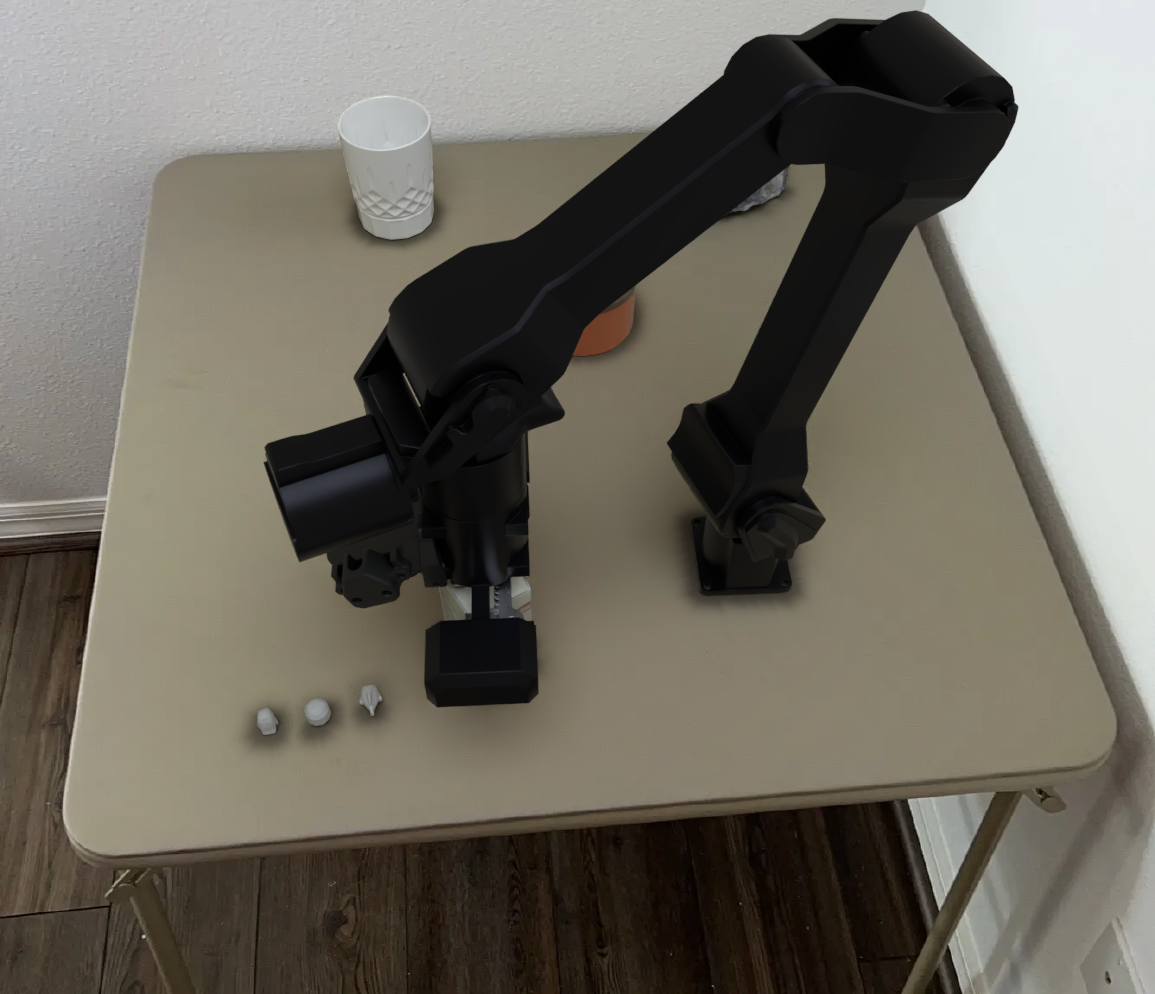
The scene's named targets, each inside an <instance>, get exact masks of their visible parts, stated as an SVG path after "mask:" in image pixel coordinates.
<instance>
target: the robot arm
mask: <svg viewBox="0 0 1155 994" xmlns="http://www.w3.org/2000/svg"><path fill="white" fill-rule="evenodd" d="M1019 108H1020V107H1019V105H1018V104H1017V103H1016V99H1015V93H1014V87H1013V86H1012V85H1011V83H1010V82H1009V81H1008V80H1007V79H1006V78H1005V77H1004V76H1003V75H1002V74H1000V72H998V71H997V70H996V69H995V68H994V67H992V66H991V65H990V64H988V63H987V62H986V61H985V60H984V59H983V58H982V57H980V56H979V55H978V54H977V53H976V52H974V51H973V50H972V49H971V48H970V47H968V46H967V45H966V44H965V43H964V42H963V41H961V40H960V39H959V38H958V37H957V36H955V35H954V34H953V33H952V32H951V31H949V30H948V29H947V27H945V26H944V25H942V23H940V22H939V21H938V20H937V19H935V18H934V17H933V16H932V15H931V14H929V13H927V12H923V11H920V10H917V9H915V10H907V11H901V12H898V13H897V14H894V15H892V16H890V17H888V18H886V19H876V18H875V19H872V18H871V19H870V18H847V17H846V18H845V17H844V18H843V17H832V18H828V19H826V20H824V21H822V22H821V23H819V24H817V25H815V26H814V27H812V28H810V29H808V30H806V31H804V32H802V33H801V34H778V33H777V34H776V33H775V34H774V33H769V34H764V35H757V36H755V37H754V38H751V39H750V40H748V41H746V42H744V43H743V44H741V46H740V47H739V48H738V49H737V50H736V51H735V52H734V53H733V54H732V55H731V57H730V59H729V60H728V63H727V65H726V66H725V68H724V70H723V75H721V76H720V77H719V78H717V80H715V81H714V82H712V84H710V85H709V86H707V87H706V88H705V89H704V90H703V91H702V92H699V94H698V95H696V96H695V97H694V98H693V99H692V100H690V101H689V102H688V103H686V104H685V105H684V106H683V107H682V108H680V109H679V110H678V111H677V112H675V113H674V114H673V115H671V116H670V117H669V118H668V119H667V120H665V121H664V122H663V123H662V124H660V125H659V126H658V127H657V128H655V129H654V130H653V131H652V132H650V133H649V134H648V135H646V137H644V138H643V139H642V140H641V141H639V142H638V143H637V144H636V145H634V146H633V147H632V148H631V149H629V150H628V151H627V152H625V154H623V155H622V156H621V157H620V158H617V160H616V161H615V162H613V163H612V164H611V165H610V166H608V167H607V168H606V169H605V170H603V171H601V173H600V174H598V175H597V176H596V177H594V178H593V179H592V180H591V181H590V182H588V183H587V184H586V185H585V186H584V187H583V188H581V189H580V190H578V191H577V192H576V193H575V194H574V195H572V196H571V197H570V198H568V200H566V201H565V202H563V204H561V205H560V206H559V207H558V208H556V209H555V210H554V211H553V212H551V213H550V214H549V215H547V216H546V218H544V219H543V220H541V221H540V222H539V223H537V224H536V225H534V226H533V227H531V228H530V229H528V230H527V231H525V232H524V233H522V234H520V235H519V236H516V237H515V238H511V239H510V238H509V239H504V240H499V241H494V242H487V243H482V244H481V243H480V244H476V245H471V246H468V247H466V248H464V249H462V250H461V251H459V252H458V253H456V254H454V255H453V256H451V257H449V258H448V259H446V260H445V261H442V263H440V264H438V265H436V266H435V267H433V268H432V269H430V270H428V271H427V272H425V273H424V274H422V275H420V276H418V277H417V278H415V279H413V281H411V282H410V283H409V284H407V285H405V287H404V288H403V289H402V290H401V291H400V292H399V293H398V294H397V295H396V297H394V299H393V300H392V302H391V304H390V306H389V307H388V311H387V312H388V313H389V315H388V320H387V321H388V322H387V323H386V324H385V326H384V328H383V329H382V331H381V332H380V334H379V335H378V336H377V339H376V340H375V342H374V343H373V345H372V346H371V348H370V349H369V351H368V353H367V354H366V356H365V357H364V359H363V360H362V361H361V364H360V366H359V367H358V369H356V371H355V373H354V375H353V381H354V383H355V386H356V388H357V390H358V392H359V394H360V396H361V399H362V402H363V407H364V411H365V415H362V416H361V415H360V416H358V417H355V418H352V419H349V420H346V421H343V422H340V423H336V424H333V425H330V426H327V427H323V428H321V429H317V430H315V431H311V432H308V433H302V434H295V435H290V436H286V437H283V438H280V439H276V440H274V441H270V442H268V443H266V444H265V445H264V448H263V449H264V451H265V453H264V456H265V459H266V461H265V460H264V461H263V466H264V468H265V472H266V475H267V478H268V481H269V484H270V487H271V490H272V493H273V495H274V499H275V501H276V505H277V507H278V510H279V512H280V516H281V518H282V522H283V524H284V527H285V530H286V532H287V535H288V537H289V540H290V543H291V546H292V548H293V551H294V554H295V556H296V558H297V561H298V563H302V562H304V561H308V560H311V559H314V558H317V557H320V556H322V555H325V554H326V559H327V562H329V564H331V568H330V569H331V571H330V577H331V578H332V579H333V580H334V583H335V586H334V591H335V594H337V595H339V596H343V597H344V598H345V600H347V601H348V603H350V604H351V606H352V607H354V608H357V609H368V608H369V609H370V608H373V607H378V606H382V605H385V604H390V603H393V602H396V601H397V600H398V599H400V597H401V587H402V585H403V583H404V582H405V581H409V580H410V579H411V578H414V577H416V576H417V575H419V574H421V575H422V580H423V586H424V588H425V589H427V588H439V587H446V586H447V580H450V583H451V587H452V588H455V589H460V588H466V587H471V610H472V613H465V620H446V621H445V620H439V621H437V622H436V623H434V624H431V625H430V626H429V627H428V628H426V629H425V630H424V631H425V632H424V633H425V634H424V671H423V685H424V690H425V695H426V699H427V700H428V701H429V702H430V703H431V704H432V705H434V706H435V707H436V708H437V709H438V708H456V707H459V708H460V707H480V706H499V705H523V704H530V703H531V702H532V701H533V700H534V699H535V698H536V697H537V696H538V695H539V694H540V693H539V692H540V691H539V687H540V686H539V663H538V662H539V661H538V659H539V658H538V640H537V638H538V637H537V624H535V621H534V620H532V621H526V620H524V616H523V614H522V612H520V611H519V610H517V609H514V608H513V607H512V593H511V577H525V578H526V577H531V566H530V541H529V540H530V539H529V533H530V532H529V520H530V517H531V512H530V488H529V484H530V483H531V477H530V476H531V475H530V471H531V470H530V452H529V451H530V449H529V431H532V430H535V429H538V428H541V427H544V426H547V425H550V424H553V423H556V422H559V421H561V420H563V419H564V418H565V416H566V411H565V409H564V407H563V405H562V404H561V402H560V401H559V398H558V397H557V396H556V394H555V392H554V390H553V389H552V387H553V386H554V385H555V384H556V383H557V382H558V381H559V380H560V379H561V378H562V377H563V376H564V375H565V373H566V371H567V369H568V367H569V365H570V363H571V360H572V358H573V354H574V351H575V349H576V347H577V344H578V342H579V340H580V338H581V335H582V333H583V331H584V329H585V328H586V327H587V326H588V325H589V324H590V323H591V322H592V321H593V320H594V319H595V318H596V317H597V316H598V315H599V314H600V313H601V312H602V311H603V310H605V309H606V308H607V307H609V306H610V305H611V304H612V303H614V302H615V301H616V300H618V299H619V298H620V297H621V296H623V295H624V294H625V293H627V292H628V291H629V290H630V289H632V288H633V287H634V286H636V285H637V286H638V284H639V283H641V282H642V281H643V280H645V279H646V278H647V277H649V275H651V274H652V273H653V272H655V271H656V270H658V269H659V268H660V267H661V266H663V265H664V264H665V263H667V262H668V261H669V260H670V259H672V258H673V257H674V256H676V255H677V254H678V253H679V252H681V251H682V250H683V249H685V248H686V247H687V246H688V245H690V244H691V243H693V242H694V241H695V240H696V239H697V238H699V237H700V236H701V235H703V234H704V233H706V231H708V230H709V229H710V228H711V227H713V226H714V225H715V224H716V223H717V222H719V221H720V220H722V219H723V218H724V217H726V216H727V215H728V214H730V213H729V212H731V211H732V210H733V209H734V208H736V207H737V206H738V205H740V204H741V203H742V202H743V201H745V200H746V199H747V198H749V197H750V196H751V195H752V194H754V193H755V192H756V191H758V190H759V189H760V188H761V187H763V186H764V185H765V184H767V183H768V182H769V181H770V180H772V179H773V178H774V177H776V176H777V175H778V174H779V173H781V172H782V171H783V170H785V169H786V168H787V167H788V166H789V167H790V166H792V165H795V166H807V165H808V166H809V165H824V181H825V182H824V187H823V188H824V189H823V191H822V194H821V196H820V198H819V201H818V202H817V205H816V207H815V209H814V211H813V213H812V215H811V218H810V219H809V222H808V224H807V226H806V228H805V231H804V233H803V235H802V237H801V239H800V241H799V243H798V245H797V246H796V247H797V248H796V250H795V252H794V253H793V255H792V258H791V261H790V262H789V265H788V266H787V269H786V271H785V274H784V275H783V278H782V280H781V282H780V284H779V286H778V288H777V290H776V291H775V292H776V293H775V295H774V296H773V299H772V301H771V303H770V305H769V308H768V310H767V311H766V314H765V316H764V318H763V320H762V322H761V325H760V327H759V329H758V331H757V333H756V335H755V337H754V339H753V341H752V344H751V346H750V348H749V350H748V352H747V354H746V357H745V359H744V361H743V363H742V365H741V367H740V369H739V371H738V373H737V375H736V378H735V380H734V382H733V384H732V385H731V387H730V388H729V389H728V390H726V391H724V392H722V393H720V394H718V395H715V396H713V397H711V398H709V399H707V400H705V401H703V402H698V403H697V402H691V403H689V404H687V405H686V406H684V407H683V410H682V413H681V418H680V421H679V424H678V426H677V428H676V430H674V431H675V432H674V433H673V434H672V435H671V436H670V438H669V439H668V440H667V442H666V445H667V447H668V448H669V450H670V452H671V453H670V459H671V461H672V463H673V465H674V467H675V469H676V470H677V472H678V473H679V475H680V476H681V478H682V479H683V481H684V482H685V484H686V485H687V487H688V488H689V490H690V491H691V493H692V495H693V496H694V498H695V499H696V501H697V502H698V504H699V505H700V507H701V508H702V510H703V511H704V513H705V515H706V516H695V517H693V518H692V519H691V520H690V532H691V539H692V546H693V552H694V560H695V566H696V573H697V579H698V581H697V582H698V587H699V591H700V593H701V594H702V595H705V596H718V595H721V596H723V595H724V596H725V595H740V594H741V595H744V594H745V595H746V594H747V595H748V594H765V593H766V594H769V593H772V594H773V593H787V592H789V591H791V589H792V588H793V587H792V586H793V581H792V580H793V579H792V575H791V571H790V565H789V560H791V559H793V557H794V554H795V550H797V549H798V548H799V546H800V545H803V544H805V543H807V542H810V541H812V540H814V538H815V537H816V535H817V534H818V533H819V531H820V530H821V528H822V527H823V525H824V524H825V523H826V520H827V519H826V517H825V516H824V514H823V512H822V511H821V510H820V509H819V508H818V506H817V505H816V504H815V502H814V501H813V499H812V498H811V496H810V495H809V494H808V492H807V491H806V490H805V488H804V484H805V482H806V479H807V476H808V474H809V451H808V432H807V430H808V429H807V425H808V422H809V420H810V418H811V415H812V414H813V412H814V410H815V409H816V406H817V405H818V403H819V402H820V399H821V398H822V396H823V394H824V393H825V390H826V389H827V387H828V385H829V383H830V381H831V380H832V377H833V375H834V374H835V372H836V370H837V368H838V366H839V365H840V363H841V361H842V359H843V357H844V356H845V354H846V352H847V350H848V349H849V346H850V344H851V343H852V341H853V339H854V337H855V336H856V334H857V332H858V330H859V328H860V326H861V324H862V323H863V321H864V319H865V317H866V316H867V314H868V311H869V310H870V308H871V306H872V304H873V302H874V301H875V299H876V297H877V295H878V293H879V291H880V290H881V288H882V286H883V284H884V283H885V281H886V279H887V277H888V275H889V273H890V272H891V270H892V268H893V266H894V264H895V262H896V261H897V259H898V257H899V255H900V254H901V251H902V249H903V248H904V246H905V244H906V242H907V240H908V239H909V237H910V235H911V233H912V232H913V231H914V229H915V228H916V226H917V225H919V224H921V223H922V222H924V221H926V220H928V219H930V218H931V217H934V216H935V215H937V214H939V213H940V212H943V211H944V210H946V209H949V208H950V207H952V206H954V205H955V204H958V203H959V202H961V201H963V200H964V199H965V198H966V197H968V195H969V194H970V192H971V191H972V189H974V187H975V186H976V184H977V183H978V181H979V180H980V179H981V177H982V175H984V173H985V172H986V170H987V169H988V167H989V166H990V165H991V164H992V162H993V161H994V160H995V159H996V158H997V157H998V155H999V154H1000V153H1001V151H1002V150H1003V148H1004V147H1005V145H1006V142H1007V140H1008V138H1009V137H1010V135H1011V133H1012V130H1013V128H1014V126H1015V123H1016V122H1017V121H1016V120H1017V116H1018V112H1019ZM731 213H732V212H731ZM637 286H636V287H637ZM697 524H698V525H697ZM784 584H786V585H784ZM491 586H494V590H496V591H494V596H496V597H494V601H495V603H494V607H496V608H495V609H494V612H490V587H491ZM706 587H708V588H706ZM498 614H499V617H498Z"/></svg>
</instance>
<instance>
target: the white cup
mask: <svg viewBox="0 0 1155 994" xmlns="http://www.w3.org/2000/svg"><path fill="white" fill-rule="evenodd" d="M431 118H432V117H431V115H430V113H429V111H428V109H427V108H426V107H425V106H424V105H422V104H421V103H419V102H417V101H416V100H413V99H411V98H408V97H404V96H401V95H400V96H399V95H388V94H387V95H376V96H370V97H366V98H363V99H361V100H358V101H356V102H354V103H352V104H350V105H349V106H348V107H346V108H345V109H344V110H343V111H342V113H340V115H339V117H338V119H337V123H336V124H337V125H336V127H337V133H338V138H339V141H340V146H341V150H342V154H343V159H344V163H345V164H344V165H345V168H346V173H347V175H348V180H349V183H350V184H349V185H350V187H351V191H352V196H353V200H354V201H355V203H356V209H357V213H358V217H359V219H360V222H361V225H362V227H363V229H364V230H365V231H367V232H368V233H370V234H371V235H373V236H374V237H377V238H381V239H386V240H390V241H392V240H393V241H394V240H404V239H409V238H412V237H414V236H417V235H419V234H421V233H423V232H424V231H425V230H426V229H427V228H428V227H429V226H430V225H431V224H432V221H433V218H434V213H435V204H434V184H435V183H434V182H435V181H434V155H433V137H432V134H433V133H432V119H431Z"/></svg>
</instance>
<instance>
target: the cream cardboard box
mask: <svg viewBox="0 0 1155 994" xmlns="http://www.w3.org/2000/svg"><path fill="white" fill-rule="evenodd" d="M438 591H439V597H440V603H441V607H442V613H443V619H444V621H446V620H465V613H472V610H471V587H466V588H460V589H455V588H452V587H451V583H450V580H447V586H446V587H438ZM494 591H496V590H494V586H491V587H490V612H494V609H495V608H496V607H494V603H495V601H494V597H496V596H494ZM511 593H512V607H513V608H514V609H517V610H519V611H520V612H522V614H523V616H524V620H526V621H533V613H532V610H533V609H532V588H531V586H530V584H529V582H528V580H527V579H526V577H511ZM498 617H499V614H498Z"/></svg>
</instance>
